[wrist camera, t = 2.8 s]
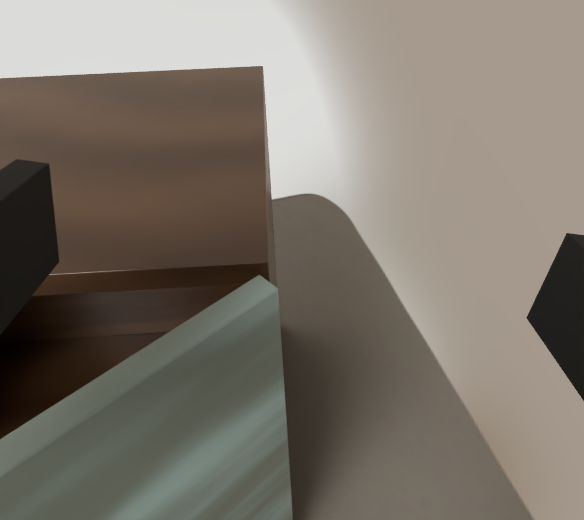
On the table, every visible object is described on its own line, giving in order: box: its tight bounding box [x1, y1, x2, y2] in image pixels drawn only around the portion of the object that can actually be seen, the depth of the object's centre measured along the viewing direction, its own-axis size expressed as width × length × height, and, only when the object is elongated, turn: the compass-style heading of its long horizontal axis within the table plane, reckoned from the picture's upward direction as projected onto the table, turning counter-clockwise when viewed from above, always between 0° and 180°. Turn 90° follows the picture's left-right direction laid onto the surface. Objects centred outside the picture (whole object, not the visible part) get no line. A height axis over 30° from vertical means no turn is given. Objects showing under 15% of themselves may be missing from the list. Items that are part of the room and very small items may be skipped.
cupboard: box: [0, 66, 277, 439], centre depth 31 cm, size 18×26×24 cm
